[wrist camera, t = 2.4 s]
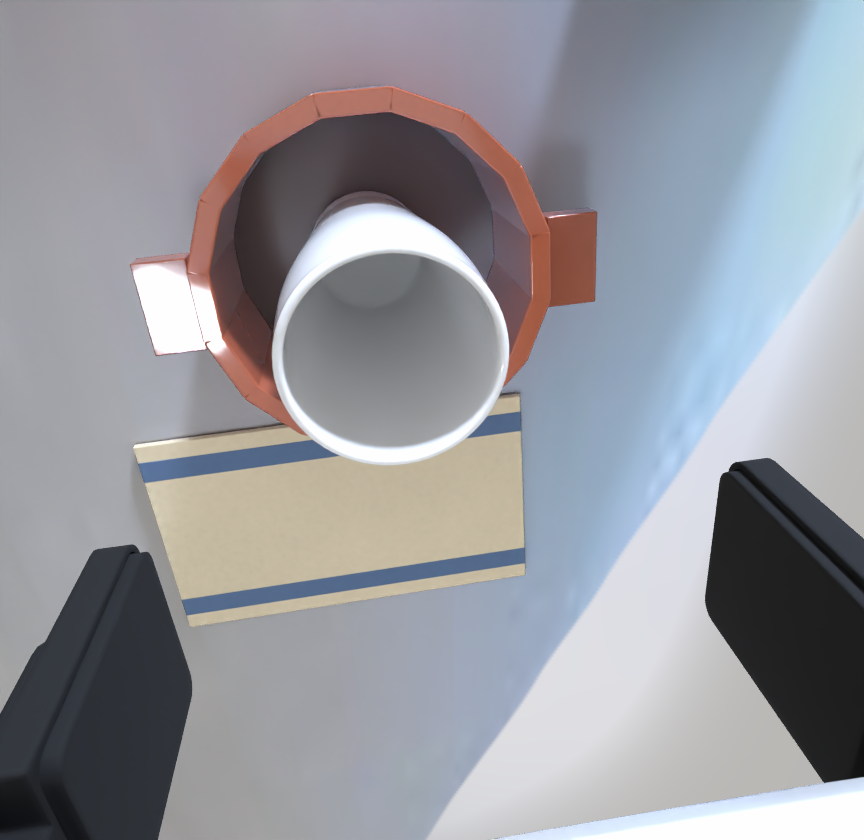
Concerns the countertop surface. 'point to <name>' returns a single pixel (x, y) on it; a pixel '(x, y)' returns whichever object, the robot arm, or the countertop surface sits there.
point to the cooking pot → (242, 322)
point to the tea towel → (332, 518)
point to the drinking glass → (386, 335)
